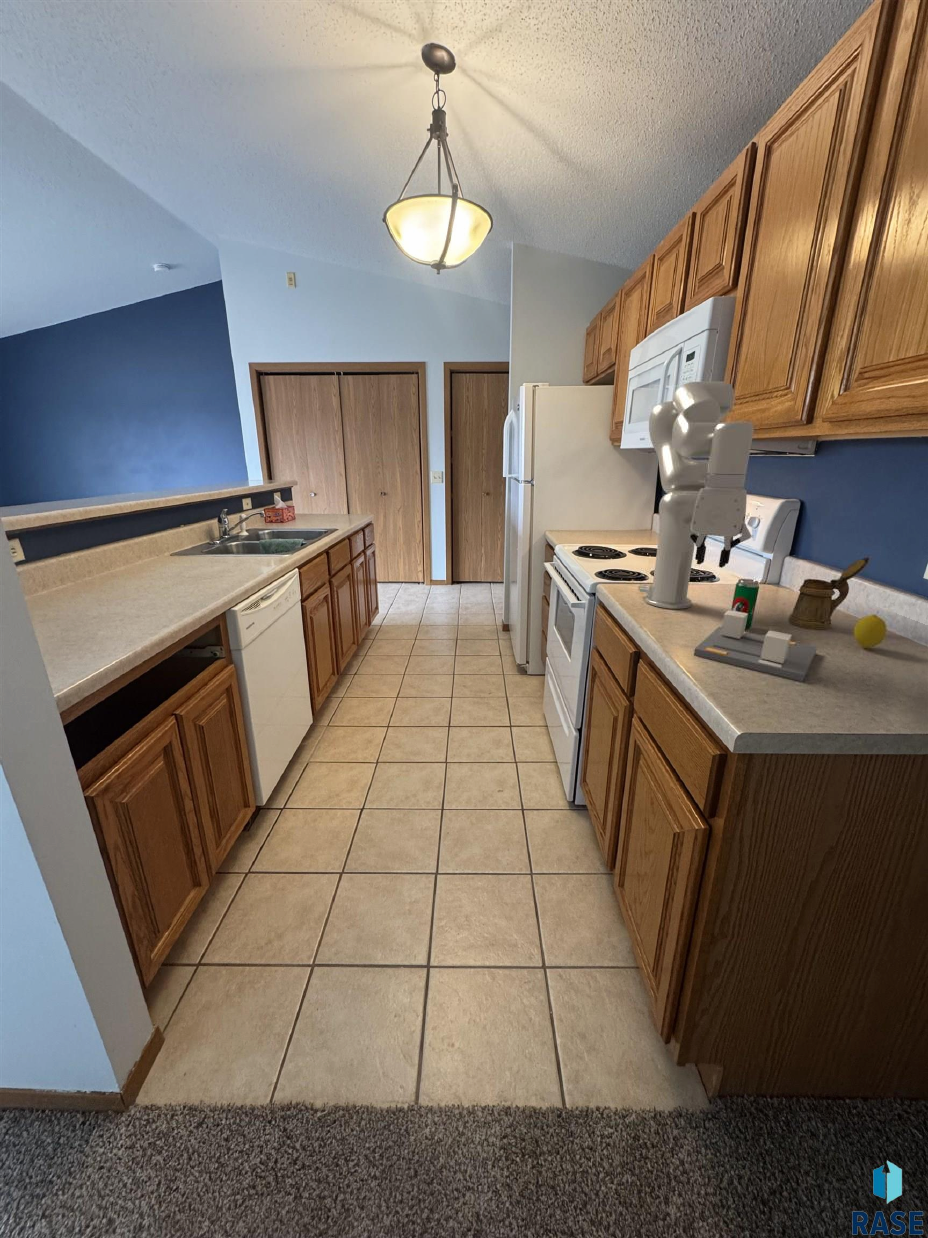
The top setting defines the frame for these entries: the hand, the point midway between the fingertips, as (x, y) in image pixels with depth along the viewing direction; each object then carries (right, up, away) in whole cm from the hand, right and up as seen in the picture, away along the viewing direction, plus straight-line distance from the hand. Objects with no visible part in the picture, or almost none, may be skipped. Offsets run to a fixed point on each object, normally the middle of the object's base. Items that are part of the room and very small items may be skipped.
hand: (711, 564), depth 114 cm
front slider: (+7, -21, -12) cm, 25 cm away
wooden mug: (+34, -14, +13) cm, 39 cm away
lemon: (+34, -19, -2) cm, 39 cm away
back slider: (+5, -16, +1) cm, 17 cm away
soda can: (+13, -15, +11) cm, 22 cm away
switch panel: (+7, -20, -6) cm, 22 cm away
